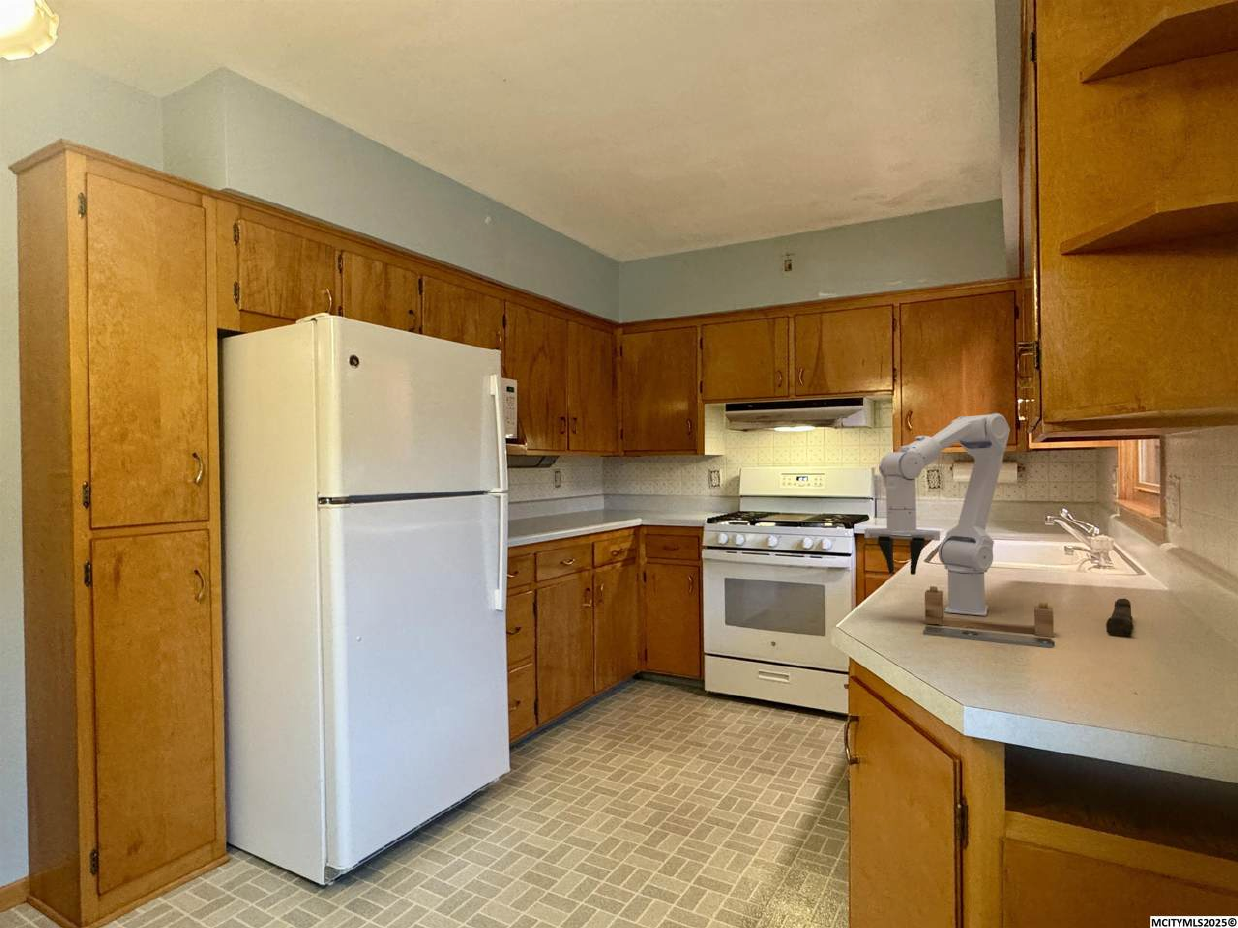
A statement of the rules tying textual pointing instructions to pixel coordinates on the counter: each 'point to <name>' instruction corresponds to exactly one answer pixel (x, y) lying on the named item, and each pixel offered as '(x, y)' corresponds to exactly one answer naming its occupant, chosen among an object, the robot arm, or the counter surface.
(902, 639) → the counter surface
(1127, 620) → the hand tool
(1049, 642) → the steel strip
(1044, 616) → the bar
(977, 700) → the counter surface
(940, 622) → the sliding head
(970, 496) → the robot arm
